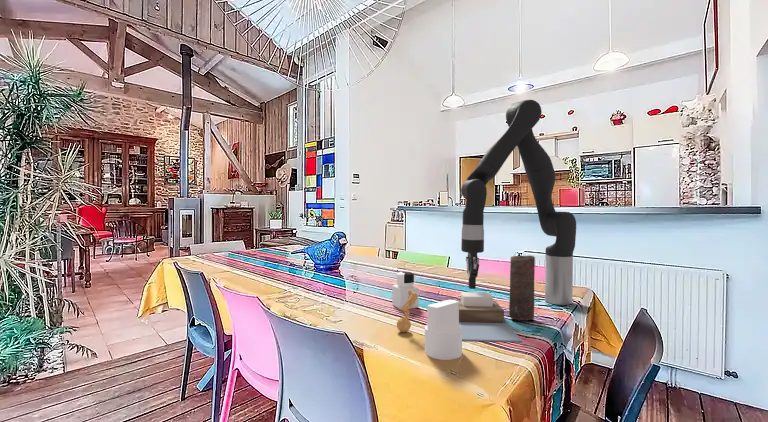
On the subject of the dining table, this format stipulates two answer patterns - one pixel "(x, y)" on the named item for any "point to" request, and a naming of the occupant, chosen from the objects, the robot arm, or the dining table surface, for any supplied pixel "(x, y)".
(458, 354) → the cylinder with rectangular tab
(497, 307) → the brown flat block
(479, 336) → the mat
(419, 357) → the dining table surface
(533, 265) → the candle
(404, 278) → the medicine bottle
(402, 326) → the figurine
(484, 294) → the white rectangular block
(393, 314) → the dining table surface
